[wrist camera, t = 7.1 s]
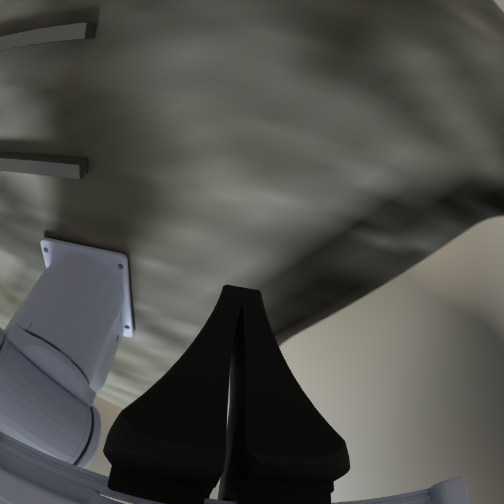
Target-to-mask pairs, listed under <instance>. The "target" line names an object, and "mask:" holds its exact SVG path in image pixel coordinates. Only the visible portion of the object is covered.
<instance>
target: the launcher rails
mask: <svg viewBox="0 0 504 504" xmlns="http://www.w3.org/2000/svg"><path fill="white" fill-rule="evenodd" d="M95 30H96V23H77V24H68V25H60V26H53V27H46V28H40V29H35V30H29V31H24V32H19V33H15V34H10V35H6V36H2V37H0V51H1V50H6V49H11V48H16V47H22V46H27V45H34V44H41V43H48V42H56V41H66V40H77V39H91V38H94V37H95ZM0 171H10V172H19V173H29V174H38V175H47V176H55V177H63V178H71V179H79V180H80V179H81V178H82V177H83V176H85V175H86V174H87V173H88V159H86V158H77V157H66V156H55V155H43V154H29V153H13V152H0Z"/></svg>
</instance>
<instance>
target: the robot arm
mask: <svg viewBox="0 0 504 504" xmlns="http://www.w3.org/2000/svg"><path fill="white" fill-rule="evenodd" d="M41 247H42V252H43V256H44V261H45V265H46V270H45V272H44V273H43V274H42V276H41V277H40V278H39V280H38V281H37V283H36V284H35V285H34V287H33V288H32V290H31V291H30V292H29V294H28V295H27V297H26V298H25V300H24V301H23V302H22V304H21V305H20V307H19V308H18V310H17V311H16V313H15V314H14V316H13V318H12V319H11V321H10V322H9V324H8V325H7V327H6V328H5V330H2V329H1V328H0V504H123V503H120V502H117V501H114V500H111V499H109V498H106V497H103V496H101V495H100V494H102V495H105V496H108V497H112V498H115V499H118V500H122V501H126V502H129V503H133V504H470V502H469V497H468V491H467V486H466V481H465V477H464V476H460V477H457V478H453V479H449V480H446V481H443V482H440V483H438V484H435V485H433V486H432V487H430V488H428V489H424V490H420V491H415V492H410V493H405V494H400V495H395V496H388V497H382V498H375V499H368V500H360V501H349V502H337V503H331V492H333V491H334V483H333V482H334V481H335V480H337V479H339V478H340V477H342V476H344V475H345V474H346V473H347V472H348V471H349V469H350V462H349V461H350V460H349V455H348V451H347V447H346V443H345V440H344V439H342V437H341V436H340V435H339V434H338V433H337V432H336V431H335V430H334V429H333V428H332V427H331V426H330V425H329V424H328V423H327V421H326V420H325V419H324V418H323V417H322V415H321V414H320V413H319V412H318V411H317V409H316V408H315V407H314V405H313V404H312V402H311V401H310V400H309V398H308V397H307V396H306V394H305V393H304V391H303V390H302V389H301V387H300V385H299V384H298V382H297V381H296V379H295V377H294V376H293V374H292V372H291V370H290V369H289V367H288V365H287V363H286V361H285V359H284V357H283V355H282V353H281V351H280V348H279V346H278V344H277V342H276V339H275V337H274V334H273V332H272V329H271V326H270V324H269V321H268V318H267V315H266V311H265V308H264V304H263V300H262V295H261V292H260V291H259V290H254V289H248V288H243V287H237V286H231V285H225V286H223V289H222V292H221V295H220V298H219V300H218V302H217V304H216V306H215V308H214V310H213V312H212V313H211V315H210V317H209V319H208V320H207V322H206V324H205V325H204V327H203V328H202V330H201V331H200V333H199V334H198V335H197V337H196V338H195V340H194V341H193V343H192V344H191V345H190V346H189V348H188V349H187V350H186V352H185V353H184V354H183V355H182V356H181V357H180V359H179V360H178V361H177V362H176V363H175V364H174V365H173V366H172V367H171V369H170V370H169V371H168V372H167V373H166V374H165V375H164V376H163V377H162V378H161V379H160V380H158V381H157V382H156V383H155V384H154V385H153V386H152V387H151V388H150V389H149V390H147V391H146V392H145V393H144V394H143V395H142V396H140V397H139V398H138V399H137V400H135V401H134V402H133V403H131V404H130V405H129V406H127V407H126V408H125V409H123V410H122V411H121V413H120V414H119V415H118V417H117V419H116V420H115V422H114V423H113V425H112V427H111V429H110V431H109V433H108V435H107V439H106V442H105V446H104V449H103V452H104V455H105V456H106V458H107V459H108V460H109V462H110V463H111V465H112V468H111V472H110V475H109V477H107V476H104V475H101V474H98V473H95V472H92V471H89V470H86V469H85V468H86V467H87V466H88V465H89V464H90V462H91V461H92V460H93V458H94V456H95V454H96V452H97V450H98V447H99V443H100V439H101V418H100V414H99V412H98V410H97V409H96V408H95V407H94V406H93V405H92V404H93V402H94V399H95V396H96V393H98V392H99V391H100V389H101V388H102V387H103V385H104V383H105V381H106V378H107V375H108V372H109V370H110V367H111V364H112V362H113V359H114V356H115V354H116V351H117V349H118V346H119V343H120V341H121V338H122V336H126V337H132V336H133V335H134V328H133V319H132V309H131V298H130V286H129V272H128V259H127V257H126V255H124V254H122V253H118V252H113V251H108V250H103V249H98V248H93V247H89V246H84V245H79V244H74V243H69V242H65V241H60V240H55V239H51V238H46V237H44V238H43V239H42V240H41ZM120 264H122V265H123V266H121V265H120ZM230 363H231V373H230ZM229 375H230V407H229V416H228V424H227V407H228V390H229ZM226 431H227V432H226ZM220 477H221V479H220ZM219 479H220V486H219V493H218V500H215V499H209V496H210V494H211V492H212V490H213V488H215V487H216V485H217V483H218V481H219Z"/></svg>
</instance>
